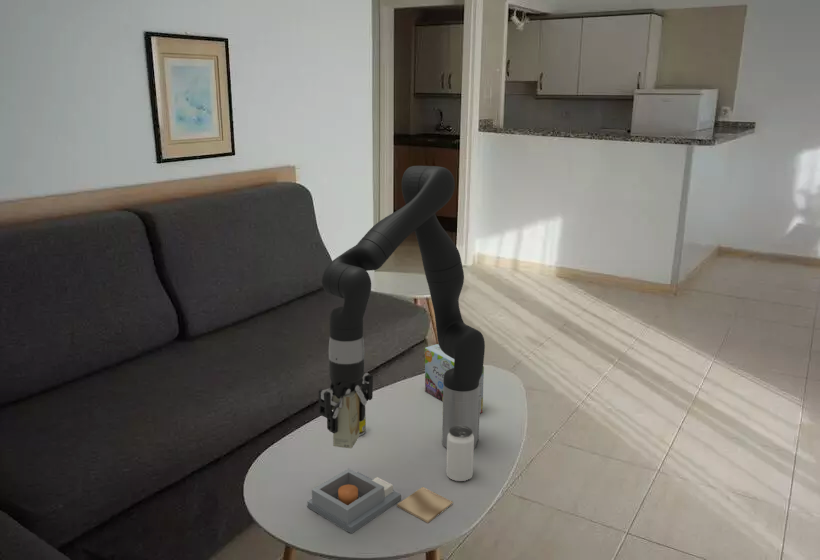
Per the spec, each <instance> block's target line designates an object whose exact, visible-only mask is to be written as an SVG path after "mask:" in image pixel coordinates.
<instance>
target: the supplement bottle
mask: <svg viewBox="0 0 820 560" xmlns="http://www.w3.org/2000/svg"><path fill="white" fill-rule="evenodd" d="M366 419H367V417H366V409H365V416H364V420H363V421H359V437H360V436H363V435H364V434H365V432H366V431H367V430H366V429H367V428H366V424H367V423H366V422H367V421H366Z"/></svg>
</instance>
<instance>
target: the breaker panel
mask: <svg viewBox="0 0 820 560" xmlns="http://www.w3.org/2000/svg"><path fill="white" fill-rule="evenodd" d="M348 484H350V485H354V486H356V487H357V488H358V499H357V500H355V501H354V502H352V503H351V504H349V505H346V504H344V503H342V502H341V501H339V500H338V489H339V488H340V487H341V486H343V485H348ZM401 501H402V494H401V493H400V492H398V491H396V490H394V485H393V484H392V483H390V482H388V481H386V480H384V479H381V478H380V477H378V476H376V477H375V478H371V477H370V476H367V475H365V474H364V473H362V472H359V471H355V470H353V469H351V468H349V467H348V468H347V469H345V470H343V471H341V472H339V473H338V474H337V475H334V476H333V477H331V478H329V479H327V480H326V481H324V482H322V483H320V484H319V485H317V486H316V487H315V486H314V488H311V499H310V500H308V501H307V508H308V509H310V510H311V511H312V512H313V511H314V513H317V514H319V515H320V516H322V517H323V518H324V519H326V520H328V521H330V522H331V523H333V524H335V525H337V526H338V527H339V528H341V529H342V530H344V531H346V532H348V533H349V534H353V533H355V531H358V530H359V529H361V528H363V526H365V525H366V524H368V523H370V522H371V521H373V520H374V519H375V518H377V517H378V516H380V515H381V514H383V513H384V512H386V511H387V510H388V509H389V508H391V507H393V506H394V505H396V504H398V503H400V502H401Z"/></svg>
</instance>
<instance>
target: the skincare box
mask: <svg viewBox="0 0 820 560" xmlns="http://www.w3.org/2000/svg"><path fill="white" fill-rule="evenodd" d="M341 397H342V396H341ZM340 399H341V398H340ZM340 399H338V398H337V397H336V396H335V394H334V395H333V402H335V403H339V401H340ZM334 409H335V406H333V410H332V411H334ZM337 417H338V432H337V433H332V434H333V436H332V439H333V445H332V446H333V447H335V448H343V449H352V448H353V447H354V446H355V444H356V443H357V441H358V439H359V437H360V436H359V399H358V396H357V393H356V392H355V391H352V392H350V394H349V395H348V396H345V397H344V406H343V408H342V409H340V410H339V413H338V415H337Z"/></svg>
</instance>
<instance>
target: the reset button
mask: <svg viewBox="0 0 820 560" xmlns="http://www.w3.org/2000/svg"><path fill="white" fill-rule="evenodd" d="M357 499H359V496H358V488H357V487H356V486H354V485H350V484H348V485H343V486H341V487H340V488H339V489H338V498H337V500H339V501H341V502H342V503H344V504H346V505H349V504H351V503H352V502H354V501H355V500H357Z"/></svg>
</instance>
